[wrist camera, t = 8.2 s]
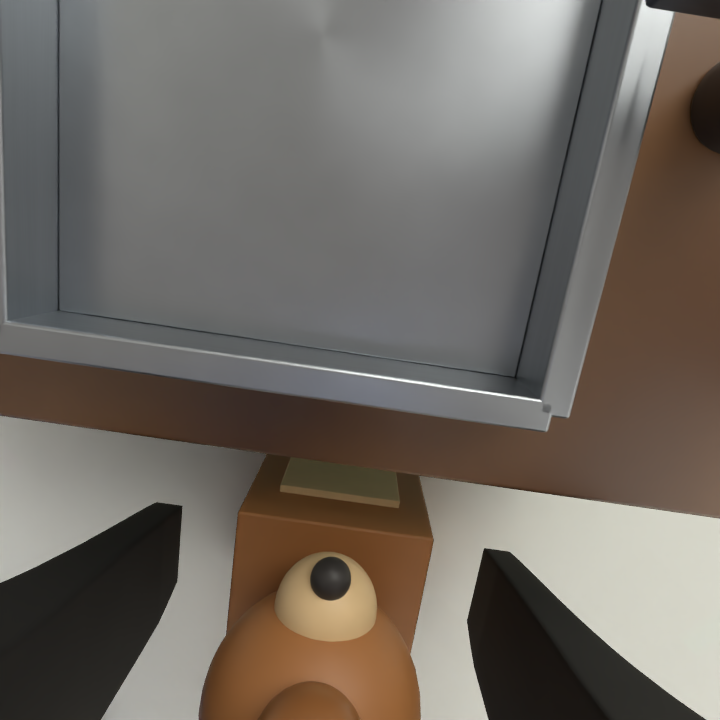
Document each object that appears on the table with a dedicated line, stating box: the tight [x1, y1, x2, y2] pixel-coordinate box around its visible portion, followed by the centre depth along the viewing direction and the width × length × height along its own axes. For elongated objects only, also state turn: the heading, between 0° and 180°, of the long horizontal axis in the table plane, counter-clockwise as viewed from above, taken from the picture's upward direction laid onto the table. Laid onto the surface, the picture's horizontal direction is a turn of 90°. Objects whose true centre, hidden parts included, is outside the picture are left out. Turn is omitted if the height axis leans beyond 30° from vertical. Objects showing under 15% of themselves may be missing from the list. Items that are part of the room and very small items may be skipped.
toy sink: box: [0, 0, 720, 518], centre depth 7 cm, size 13×11×9 cm
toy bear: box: [199, 454, 434, 720], centre depth 9 cm, size 4×5×8 cm
